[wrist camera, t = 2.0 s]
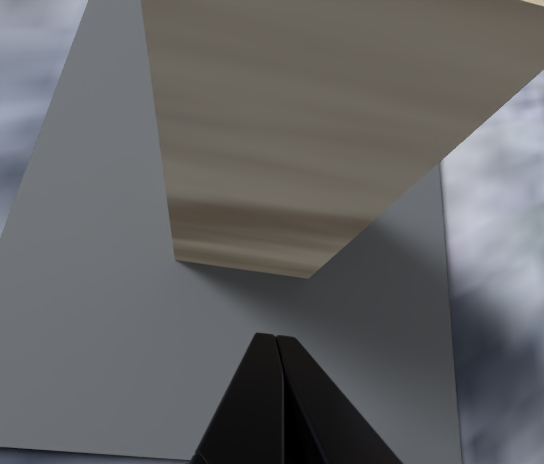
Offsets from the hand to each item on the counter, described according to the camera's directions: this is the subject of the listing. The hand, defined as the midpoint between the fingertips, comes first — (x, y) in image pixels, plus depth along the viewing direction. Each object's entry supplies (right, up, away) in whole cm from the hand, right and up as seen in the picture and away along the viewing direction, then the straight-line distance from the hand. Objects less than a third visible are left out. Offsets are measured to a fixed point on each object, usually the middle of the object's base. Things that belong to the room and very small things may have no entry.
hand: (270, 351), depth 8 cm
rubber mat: (-1, +6, +12) cm, 13 cm away
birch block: (-1, +3, +10) cm, 11 cm away
